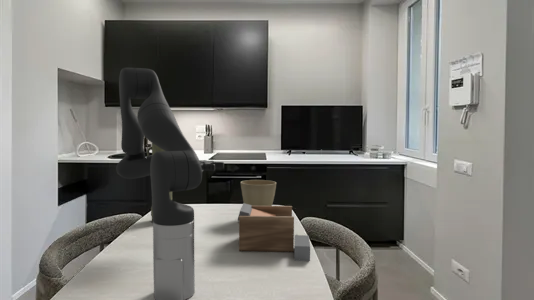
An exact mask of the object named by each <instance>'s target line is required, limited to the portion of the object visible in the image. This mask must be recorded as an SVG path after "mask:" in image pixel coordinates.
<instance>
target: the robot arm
mask: <svg viewBox="0 0 534 300" xmlns="http://www.w3.org/2000/svg"><path fill="white" fill-rule="evenodd" d="M118 92H119V94H118V95H119V109H120V115H121V117H120V119H121V141H120V143H121V144H120V146H121V151H122V153H124V154H125V156H123V158H122V159H120V160H119V161H118V162H117V164H116V167H115V169H116V170H115V171H116V173H117V175H119V176H120V177H121V178H123V179H127V180H134V179H140V178H144V177H149V176H150V187H151V207H152V210H153V223H152V241H153V242H152V249H153V251H152V252H153V253H152V254H153V256H152V257H153V259H152V263H153V264H152V265H153V267H152V268H153V273H152V274H153V296H154V300H187V299H189V298H191V297H192V296H193V295H194V294H195V279H196V278H195V276H196V275H195V209H194V208H193V207H192V206H190V205H188V204H185V203H181V202H177V201H175V200H173V199H172V200H171V199H170V195H169V192H172V193H173V192H181V191H190V190H194V189H197V188H198V187H199V186H200V184H201V183H202V180H203V172H215V171H216V169H219V170H221V169H223V170H224V169H225V163H224V161H214V160H206V159H204V160H203V159H202V160H201V159H199V157H198V155H197V153H196V152H195V150H194V148H193V147H192V146H191V144H190V143H189V141H188V140H187V138H186V137H185V135H184V134H183V132H182V130H181V128H180V126H179V124H178V122H177V119H176V117H175V114H174V113H173V111H172V109H171V107H170V105H169V103H168V101H167V99H166V97H165V95H164V92H163V89H162V86H161V84H160V80H159V77H158V75H157V73H156V72H155V71H154V70H153V69H150V68H145V67H144V68H143V67H142V68H141V67H123V68H122V69H121V70H120V73H119V75H118ZM131 99H133V100H134V99H136V100H137V99H139V100H141V99H144V101H143V102H142V103H141V105H140V106H139V108H138V109H137V110H138V111H137V114H136V112H135V111H134V109H133V106H132V103H131V102H132V100H131ZM145 138H146V140H148V141H149V142H150V143H151V144H152V143H153V144H155V145H156V146H158V147H160V148H161V149H163V150H164V151H161V152H156V153H154V154H153V155H152V154H149V156H147V155H146V153H145V149H144V143H145Z"/></svg>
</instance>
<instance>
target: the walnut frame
mask: <svg viewBox="0 0 534 300" xmlns="http://www.w3.org/2000/svg"><path fill="white" fill-rule="evenodd" d="M251 208H253V209H256V210H260V211H264V212H267V213H271V214H275V215H276V216H239V215H238V216H239V221H238V252H245V253H247V252H248V253H249V252H251V253H255V252H257V253H258V252H259V253H261V252H262V253H294V241H295V216H294V215H293V206H292V205H272V206H251Z"/></svg>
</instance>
